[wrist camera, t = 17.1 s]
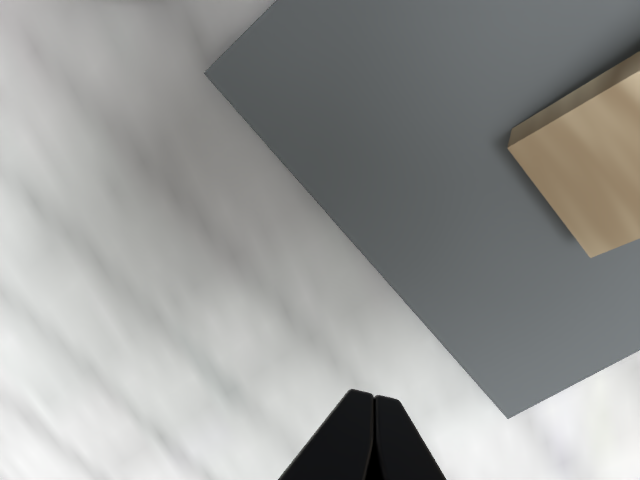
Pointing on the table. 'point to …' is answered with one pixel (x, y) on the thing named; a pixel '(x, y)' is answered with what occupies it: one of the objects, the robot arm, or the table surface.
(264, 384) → the table surface
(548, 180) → the domino
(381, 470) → the robot arm
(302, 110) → the mat
